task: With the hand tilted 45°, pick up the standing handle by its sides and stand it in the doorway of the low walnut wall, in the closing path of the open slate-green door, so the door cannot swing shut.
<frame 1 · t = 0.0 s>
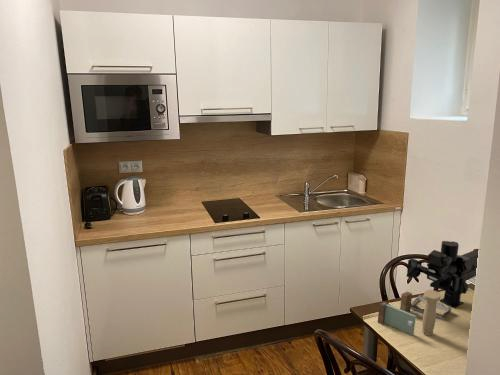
hand: (418, 280, 135), 17 cm above the table, tool horizontal, fingers open, 9 cm apart
handle: (427, 334, 132), on the table
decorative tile: (429, 311, 147), on the table
door frame: (394, 316, 142), on the table
door: (397, 318, 134), point 4 cm above the table, hinge at 80.0°
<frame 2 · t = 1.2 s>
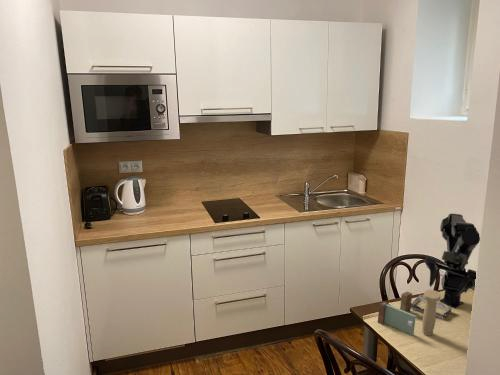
hand: (443, 290, 134), 14 cm above the table, tool tilted 45°, fingers open, 9 cm apart
nothing on the table moved.
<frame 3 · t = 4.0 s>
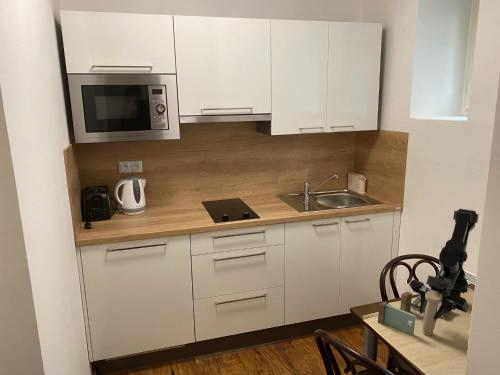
hand: (427, 316, 129), 7 cm above the table, tool tilted 45°, fingers open, 5 cm apart
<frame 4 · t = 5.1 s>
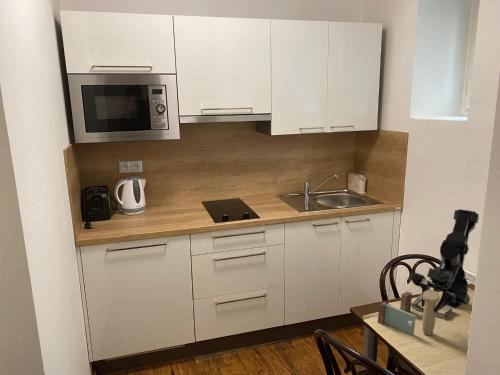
hand: (428, 309, 129), 10 cm above the table, tool tilted 45°, fingers closed on handle, 4 cm apart
handle: (427, 333, 132), on the table, touching gripper
everything else where it was.
when the fingers open (10 cm above the table, at t = 7.1 s): handle stays where it is, on the table.
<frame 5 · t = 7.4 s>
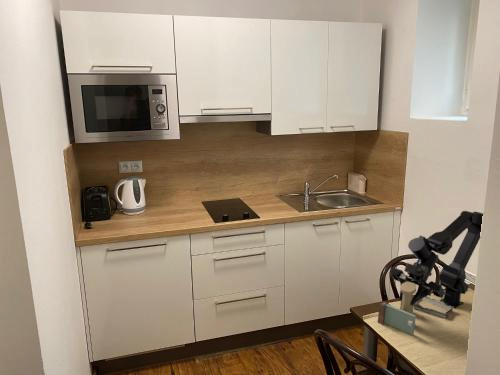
hand: (405, 302, 135), 9 cm above the table, tool tilted 45°, fingers open, 4 cm apart
handle: (406, 322, 138), on the table
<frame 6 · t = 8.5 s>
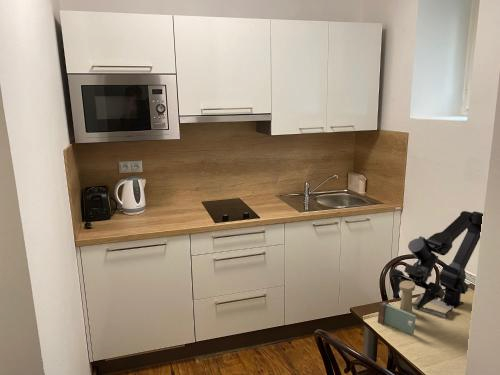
hand: (405, 303, 135), 9 cm above the table, tool tilted 45°, fingers open, 9 cm apart
handle: (406, 322, 138), on the table, touching gripper
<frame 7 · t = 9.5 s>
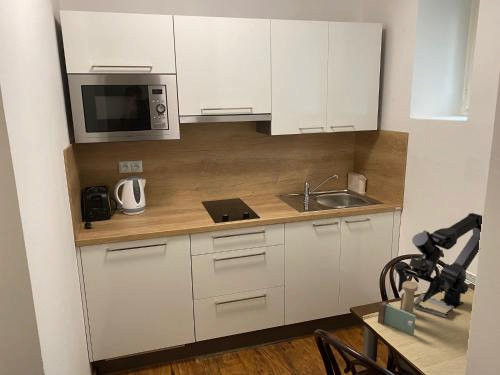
hand: (410, 296, 136), 10 cm above the table, tool tilted 45°, fingers open, 9 cm apart
handle: (406, 323, 138), on the table
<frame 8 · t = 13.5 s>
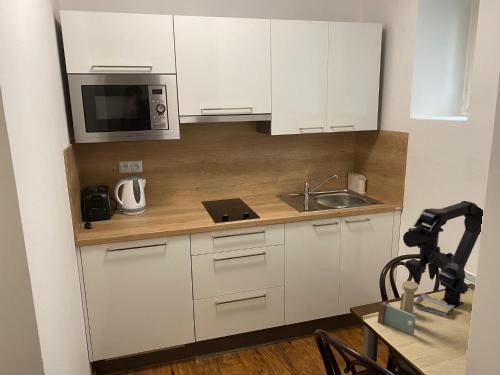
hand: (424, 282, 144), 12 cm above the table, tool pointing down, fingers open, 9 cm apart
at the end: handle 0.8 cm from the target spot, on the table; handle tilted 0°; door at +80° (first picture: +80°) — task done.
